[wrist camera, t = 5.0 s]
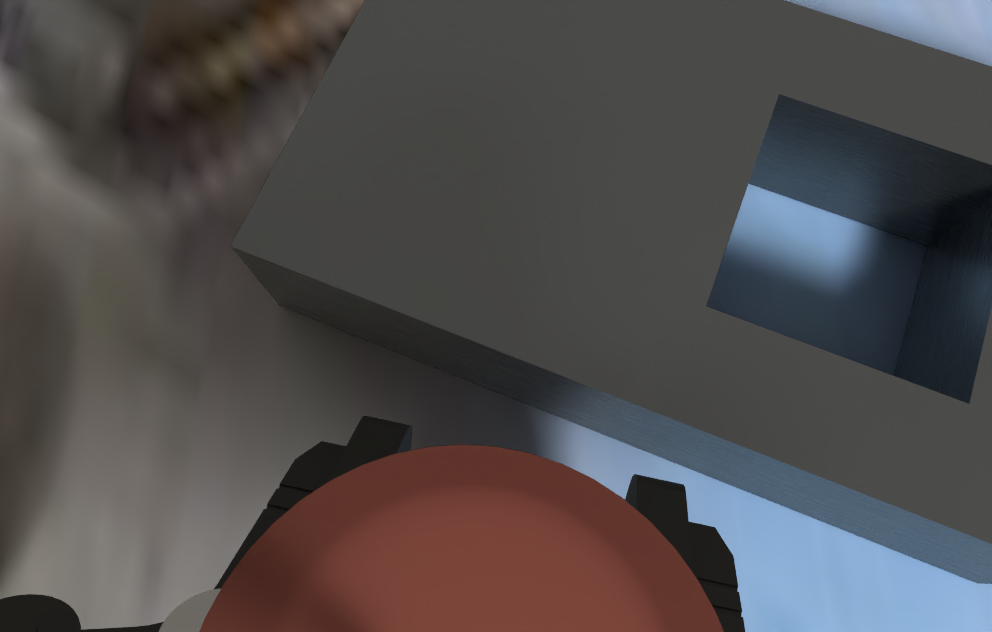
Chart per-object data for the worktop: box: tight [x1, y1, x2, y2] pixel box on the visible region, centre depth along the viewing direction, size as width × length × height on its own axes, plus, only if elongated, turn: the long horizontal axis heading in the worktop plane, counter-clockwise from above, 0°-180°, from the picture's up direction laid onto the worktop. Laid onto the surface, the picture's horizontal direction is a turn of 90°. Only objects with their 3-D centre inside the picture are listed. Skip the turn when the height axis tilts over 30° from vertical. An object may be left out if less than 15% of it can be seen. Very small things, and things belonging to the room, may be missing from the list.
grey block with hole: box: [231, 0, 992, 584], centre depth 17 cm, size 16×9×4 cm, turn 68°
